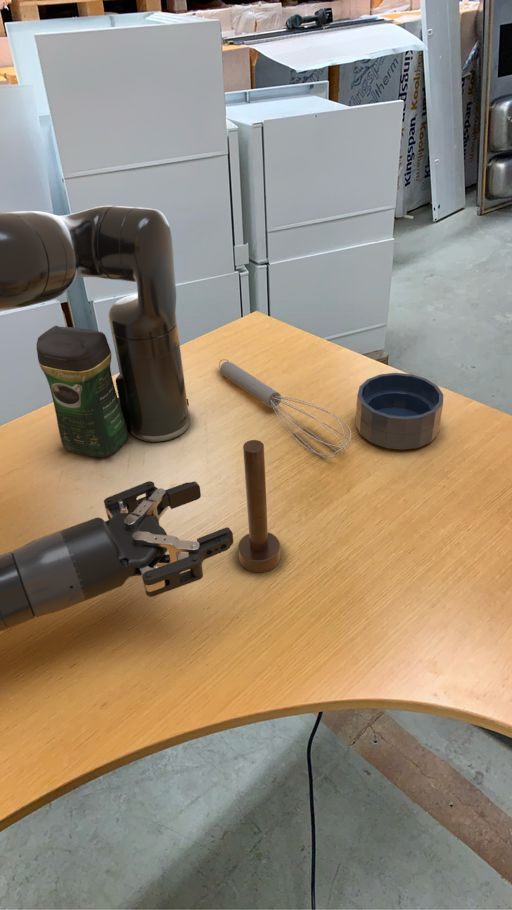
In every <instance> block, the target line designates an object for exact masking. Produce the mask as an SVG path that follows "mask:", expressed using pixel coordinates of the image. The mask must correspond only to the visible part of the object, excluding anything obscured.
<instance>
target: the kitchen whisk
mask: <svg viewBox="0 0 512 910" xmlns="http://www.w3.org/2000/svg"><path fill="white" fill-rule="evenodd" d="M222 361H224V362H223V363H222V364H221V362H222ZM218 369H219V371H220V373H221V375H222V376H223V377H225V378H226V379H228V380H229V381H230V382H232V383H233V384H235V385H236V386H238V387H239V388H240V389H242V391H245V392H246V393H247V394H249V395H250V396H252V397H254V398H255V399H257V400H258V401H259V402H261V403H262V404H264V405H265V406H267V407H268V408H270V409H273V411H274V412H275V414H276V416H277V417H278V419H279V420H280V422H281V423H282V425H283V426H284V428H285V429H286V431H288V432H289V434H290V435H291V436H292V437H293V439H295V440H296V441H297V442H298V443H299V444H300V445H301V446H303V447H304V448H305V449H306V450H308V451H311V452H312V453H315V454H317V455H318V456H320V457H323V458H324V459H334V458H336V457H337V456H339V455H340V454H342V455H343V454H345V453H346V450H345V448H347V447H350V446H351V439H352V438H351V437H352V431H351V428H350V426H349V425H348V424H347V423H346V422H345V421H344V420H343V419H342V418H340V417H339V416H337V415H335V414H333V413H332V412H330V411H329V410H327V409H325V408H324V407H321V406H319V405H317V404H315V403H312V402H309V401H306V400H302V399H299V398H295V397H294V398H293V397H288V396H283V395H281V393H279V392H277V391H276V390H274V389H273V388H271V386H269V385H267V384H265V383H264V382H262V381H261V380H259V378H256V377H255V376H253V375H251V374H250V373H248V372H247V371H246V370H244V369H243V368H241V367H240V366H238V365H236V364H235V363H233V362H231V361H229V359H221V360H220V361H219V363H218ZM284 400H286V401H284ZM287 401H290V402H295V403H298V404H302V405H305V406H308V407H312V408H314V409H318V410H321V411H323V412H325V413H327V414H328V415H329V414H330V415H331V416H332V417H333V418H334V419H335V420H337V422H338V424H339V426H340V427H341V429H342V432H340V431H339V430H337V429H336V428H334V427H332V426H330V425H328V424H327V423H325V422H323V421H321V420H319V419H318V418H317V417H315V416H314V415H312V414H311V413H309V412H307V411H305V410H303V409H302V408H300V407H297V406H296V405H294V404H292V403H290V402H287ZM281 403H282V404H283V405H286V406H288V407H290V408H292V409H293V410H296V411H298V412H300V413H302V414H304V415H306V416H308V417H309V418H312V419H314V420H315V421H318V422H319V423H320V424H322V426H324V427H325V428H326V429H327V430H328V431H330V432H331V433H332V434H333V435H334V436H335V438H337V440H338V441H339V443H340V445H334V444H330V443H326V442H325V441H323V440H322V439H321V438H319V436H316V435H315V434H314V433H313V432H311V430H309V429H308V428H307V427H306V426H304V425H303V424H302V423H301V422H299V421H298V420H297V419H295V417H293V416H292V415H291V414H289V412H287V411H286V410H285V409H284V408H282V407H281V406H280V404H281ZM279 408H280V409H281V410H282V411H281V410H280V409H279ZM283 412H285V413H286V414H287V415H288V416H289V417H290V418H291V419H293V420H294V421H295V422H297V423H298V424H299V425H300V426H301V427H302V428H303V429H305V430H306V431H307V432H308V433H307V432H306V431H304V430H303V429H302V428H300V427H299V426H298V425H296V424H295V423H294V422H293V421H292V420H291V419H290V418H288V416H286V415H285V414H284V413H283ZM279 415H280V416H279ZM284 417H285V418H286V419H287V420H288V421H289V422H290V424H292V425H294V426H295V427H296V428H297V429H298V430H300V432H302V433H304V434H305V435H307V436H309V437H310V438H312V439H314V440H315V441H318V442H320V443H322V444H324V445H326V446H327V447H329V448H330V449H331V450H334V451H335V452H330V453H321V452H317V451H315V450H314V449H313V448H312V447H310V445H308V444H307V443H306V442H305V441H304V440H303V439H302V438H301V437H300V436H299V435H298V434H297V433H296V431H295V430H294V429H293V428H292V426H291V425H290V424H289V423H288V422H287V420H285V418H284ZM283 421H284V422H285V423H286V424H285V423H284V422H283ZM340 421H341V422H343V423H344V425H345V426H347V428H348V430H349V438H348V437H346V436H345V431H344V427H343V425H342V423H341V422H340ZM288 427H289V428H288ZM289 429H290V430H291V431H292V432H293V433H294V434H293V433H292V432H291V431H290V430H289ZM331 429H332V430H331ZM334 431H335V432H336V433H337V434H339V435H341V436H342V441H341V440H340V438H339V437H338V436H337V434H335V432H334ZM309 433H310V434H309ZM295 435H296V437H295ZM298 438H299V439H300V440H299V439H298ZM345 439H346V440H347V442H346V443H345ZM344 443H345V444H344ZM348 443H349V444H348ZM334 447H337V448H338V450H337V449H335V448H334ZM339 448H340V449H339ZM342 450H343V452H342ZM335 454H336V455H335ZM330 455H333V456H330Z"/></svg>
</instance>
